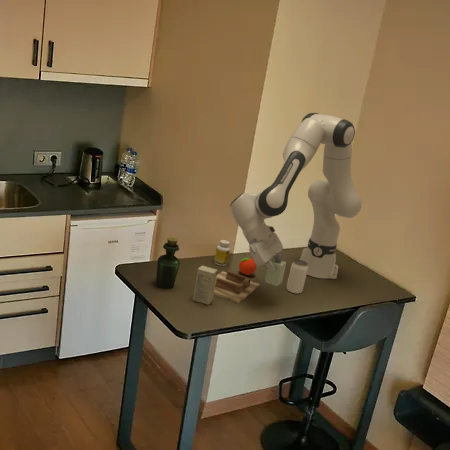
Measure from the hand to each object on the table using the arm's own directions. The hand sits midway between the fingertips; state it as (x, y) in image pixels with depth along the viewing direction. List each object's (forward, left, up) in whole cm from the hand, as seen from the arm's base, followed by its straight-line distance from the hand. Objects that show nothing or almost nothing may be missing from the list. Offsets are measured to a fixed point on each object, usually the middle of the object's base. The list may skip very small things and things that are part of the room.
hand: (278, 269), depth 220 cm
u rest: (-1, -17, -14) cm, 22 cm away
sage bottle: (0, -1, -5) cm, 5 cm away
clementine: (-18, -18, -14) cm, 29 cm away
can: (-19, +3, -14) cm, 24 cm away
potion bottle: (+16, -36, -14) cm, 42 cm away
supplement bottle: (-20, -30, -14) cm, 38 cm away
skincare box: (+17, -20, -14) cm, 30 cm away
